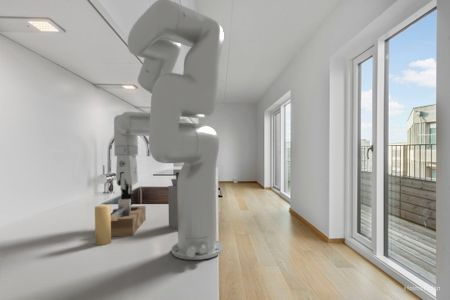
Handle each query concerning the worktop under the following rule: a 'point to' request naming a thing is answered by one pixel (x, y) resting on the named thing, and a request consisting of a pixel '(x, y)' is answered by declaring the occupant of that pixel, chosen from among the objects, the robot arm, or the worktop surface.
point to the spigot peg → (102, 225)
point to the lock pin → (121, 209)
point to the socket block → (128, 221)
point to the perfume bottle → (173, 203)
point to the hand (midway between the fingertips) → (126, 205)
